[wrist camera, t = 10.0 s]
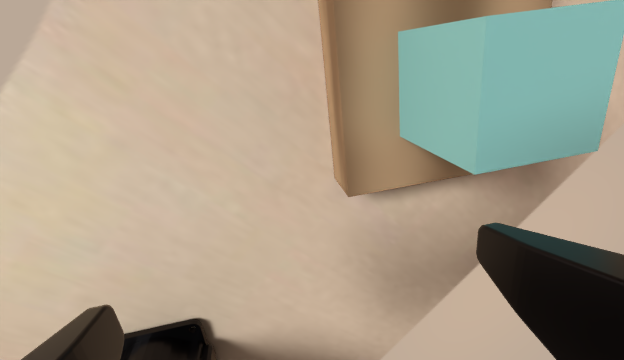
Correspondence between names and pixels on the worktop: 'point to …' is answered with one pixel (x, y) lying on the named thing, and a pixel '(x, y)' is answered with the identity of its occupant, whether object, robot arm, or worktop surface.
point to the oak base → (383, 87)
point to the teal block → (510, 85)
